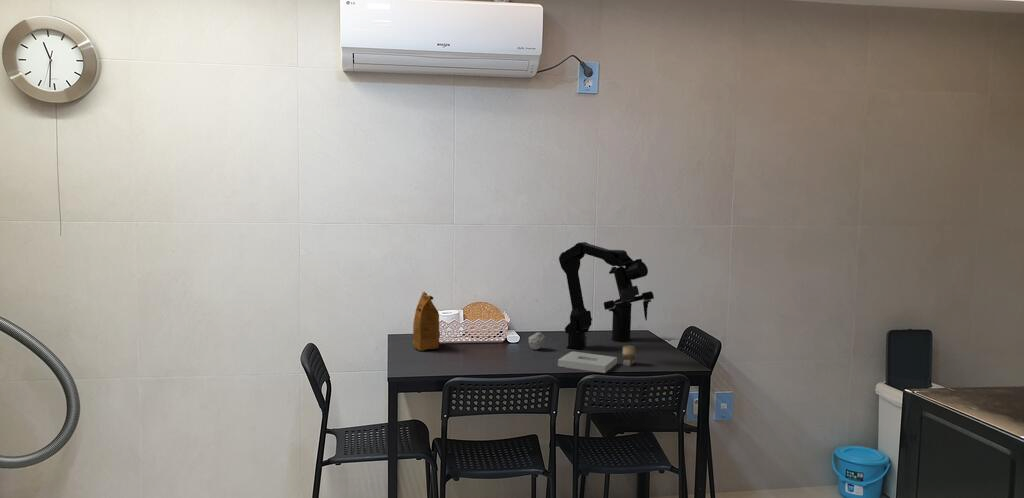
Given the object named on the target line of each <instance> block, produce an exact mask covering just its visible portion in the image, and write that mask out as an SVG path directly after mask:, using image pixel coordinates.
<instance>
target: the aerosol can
mask: <svg viewBox="0 0 1024 498" xmlns="http://www.w3.org/2000/svg"><path fill="white" fill-rule="evenodd" d="M619 300H620V298H617V299H616V300H614V302H615V301H619ZM632 303H633V302H631V303H627V304H622V305H618V306H616V307H615V308H616V309H617V311H618V314H619V316H620V319H621V322H622V325H623V326H621V324H620V322H619V321H618V319H617V317H616V316H615V314H614V313H613V312H612V329H611V341H613V342H617V343H629V342H631V340H632V339H631V327H632V306H633V304H632Z"/></svg>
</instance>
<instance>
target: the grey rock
mask: <svg viewBox="0 0 1024 498" xmlns="http://www.w3.org/2000/svg"><path fill="white" fill-rule="evenodd" d="M527 339H528V344H529V346H530V348H531V349H532V350H534V351H535V350H536V351H537V350H540V349H541V347H543V343H544V342H545V340H546V336H545V335H544V334H543V333H542V332H535V333H534V334H532V335H529V337H528V338H527Z"/></svg>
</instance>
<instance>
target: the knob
mask: <svg viewBox="0 0 1024 498" xmlns="http://www.w3.org/2000/svg"><path fill="white" fill-rule="evenodd" d="M636 347H637V346H636ZM636 347H635V346H633V345H624V346H622V357H621V359H622V360H623V362H622V366H623V367H624V366H625V367H630V366H632V365H633V364H634V363H635V361H636V356H637V355H636V354H637V353H636V352H637V350H636V349H637V348H636Z"/></svg>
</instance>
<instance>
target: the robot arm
mask: <svg viewBox="0 0 1024 498" xmlns="http://www.w3.org/2000/svg"><path fill="white" fill-rule="evenodd" d="M586 255H587V256H591V257H595V258H598V259H601V260H602V261H604V262H605V264H608V265H610V266H612V267H611V268H610V270H609V272H608V274H609V275H612V274H614V279H615V283H616V287H617V291H618V297H619V299H620V300H619V301H615V300H614V299H612V300H607V301H604V302H603V306H604V310H608V311H609V312H612V314H613V313H614V314H615V316H616V317H617V319H618V321H619V322H620V324H621V326H623V325H622V322H621V319H620V316H619V314H618V311H617V309H616V308H615V307H616V306H618V305H622V304H627V303H635V302H640V301H642V304H643V305H642V306H643V312H644V313H643V314H644V319H645V321H647V320H648V308H649V303H651V302H652V300H654V299H655V297H654V293H653V291H652V290H651V291H646V292H642V293H641V295H640V292H639V289H638V288H639V287H638V285H633V282H632V281H634V280H635V281H636V280H638V279H640V278H644V277H646V276H648V272H649V269H648V266H647V265H646V263H645V262H644V261H643V260H642V258H639V259H638V258H637V259H635V260H634V259H632V258H631V257H630V256H629V255H628V253H627V251H626V250H624V249H608V248H604V247H602V246H601V247H600V246H598V245H594V244H591V243H588V242H585V241H582V242H577V243H576V244H574V246H572V247H570V248H568V249H567V250H565V251H563V252H561V253H560V255H559V257H558V261H559V262H558V263H559V264H560V268H561V270H562V271H563V272H564V273H565V275H566V280H567V282H566V283H567V286H568V293H569V299H570V303H571V312H570V315H569V323H568V324H567V325H566V326H564V331H565V334H568V336H567V337H568V339H567V346H566V348H567V349H573V350H581V351H582V350H583V349H585V348H586V347H587V336H586V333H589V330H590V328H591V326H592V321H593V318H592V313H591V310H588V309H586V307H585V303H584V298H583V297H584V296H583V292H582V286H581V280H580V275H579V271H580V267H581V260H582V259H583V258H584V257H585V256H586ZM614 301H615V302H614Z"/></svg>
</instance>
